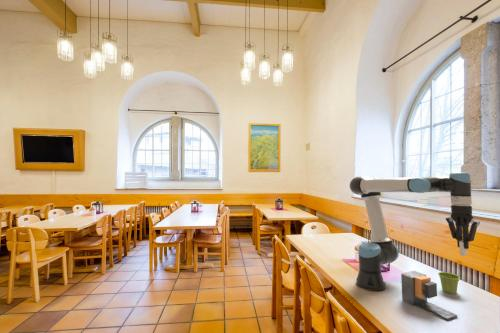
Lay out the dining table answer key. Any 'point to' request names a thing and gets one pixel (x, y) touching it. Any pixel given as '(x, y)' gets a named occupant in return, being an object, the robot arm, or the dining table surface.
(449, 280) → the plant pot
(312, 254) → the dining table surface
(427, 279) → the block
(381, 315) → the dining table surface
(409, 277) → the block
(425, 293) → the shaft
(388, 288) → the dining table surface
